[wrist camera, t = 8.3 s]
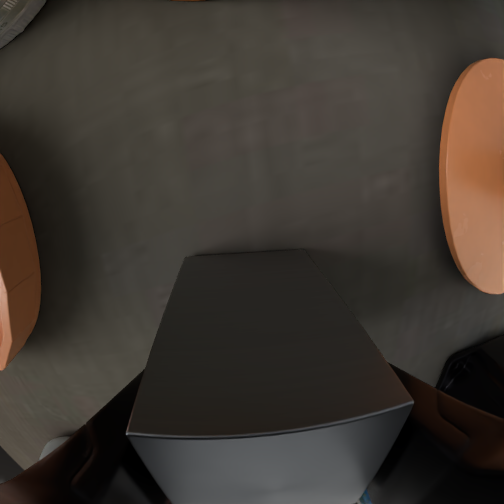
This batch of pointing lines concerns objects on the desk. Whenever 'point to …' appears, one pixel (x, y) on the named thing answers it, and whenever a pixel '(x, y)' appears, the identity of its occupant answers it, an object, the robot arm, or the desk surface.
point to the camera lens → (16, 17)
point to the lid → (475, 174)
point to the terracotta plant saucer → (16, 268)
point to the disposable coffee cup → (187, 0)
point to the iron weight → (263, 388)
